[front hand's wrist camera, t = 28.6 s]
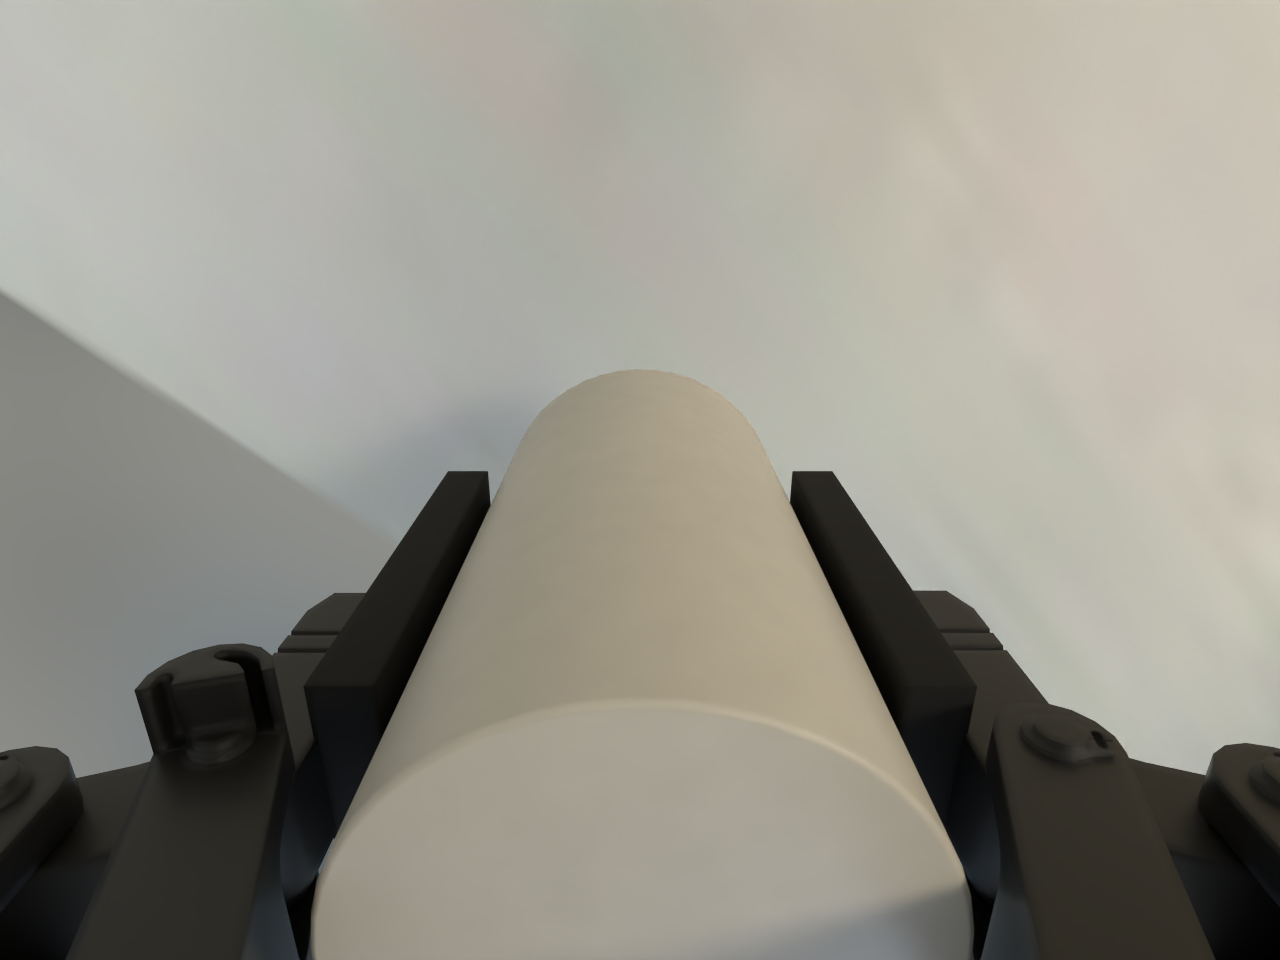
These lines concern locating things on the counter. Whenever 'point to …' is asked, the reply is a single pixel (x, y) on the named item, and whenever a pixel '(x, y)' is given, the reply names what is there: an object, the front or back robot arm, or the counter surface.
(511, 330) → the counter surface
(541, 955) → the canister
